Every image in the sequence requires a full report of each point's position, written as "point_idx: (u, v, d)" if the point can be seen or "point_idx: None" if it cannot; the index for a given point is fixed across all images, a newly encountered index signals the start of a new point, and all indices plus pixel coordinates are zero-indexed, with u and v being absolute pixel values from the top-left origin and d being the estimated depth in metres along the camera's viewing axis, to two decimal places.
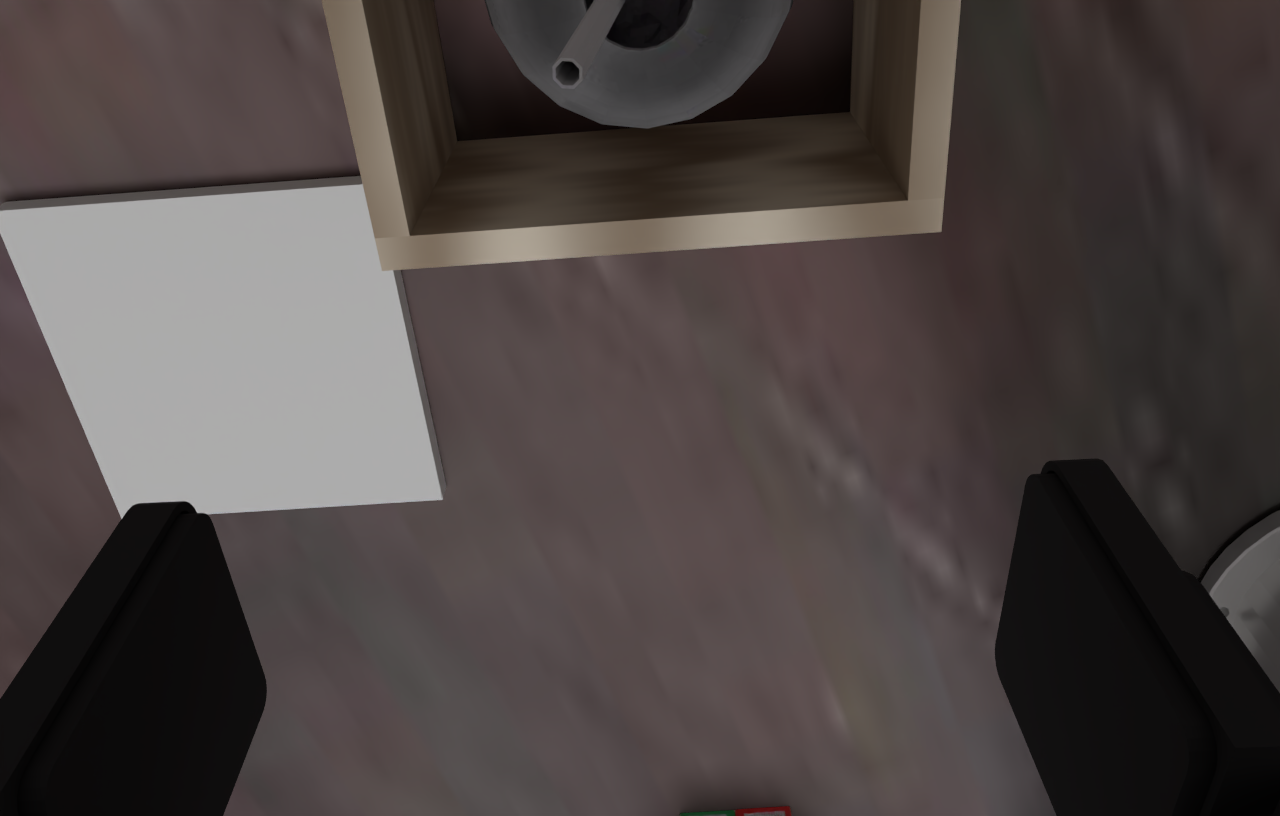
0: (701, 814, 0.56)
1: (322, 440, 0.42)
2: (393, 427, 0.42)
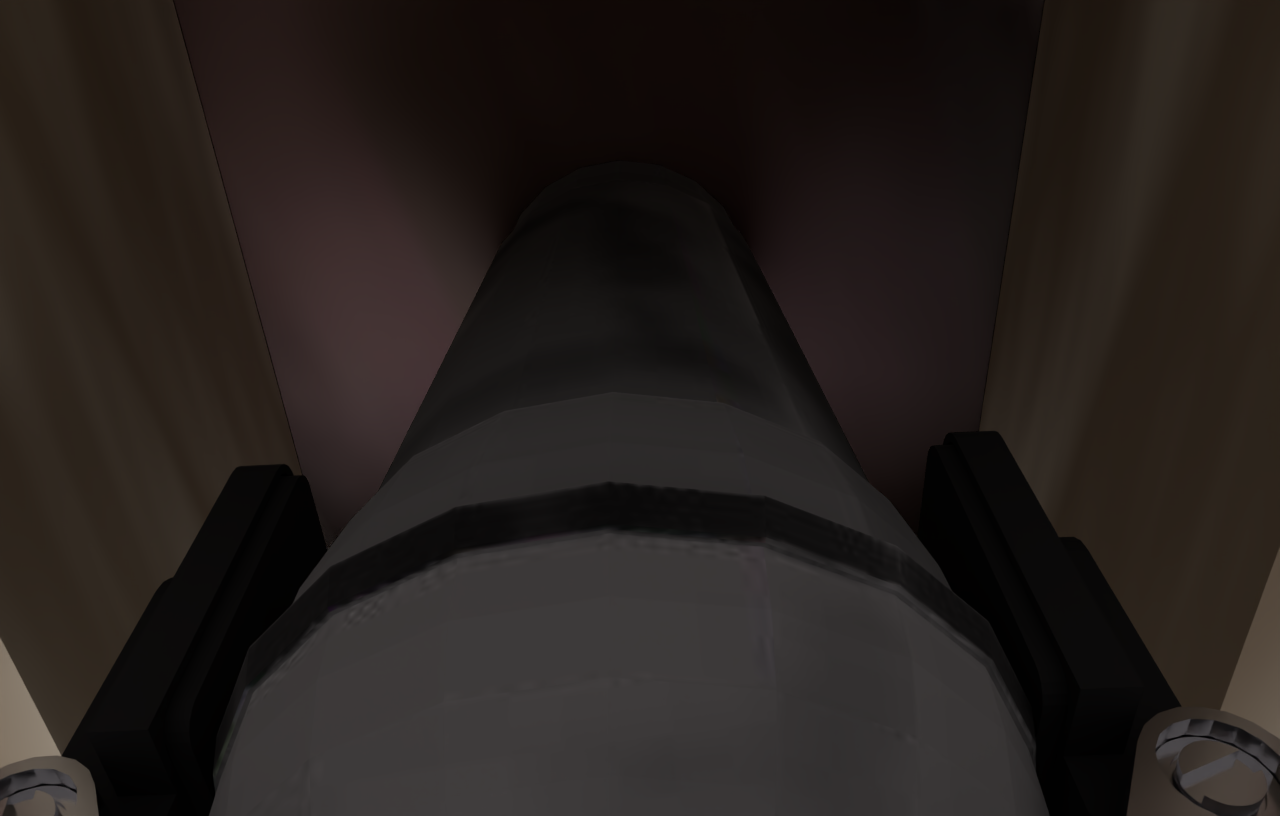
0: None
1: None
2: None
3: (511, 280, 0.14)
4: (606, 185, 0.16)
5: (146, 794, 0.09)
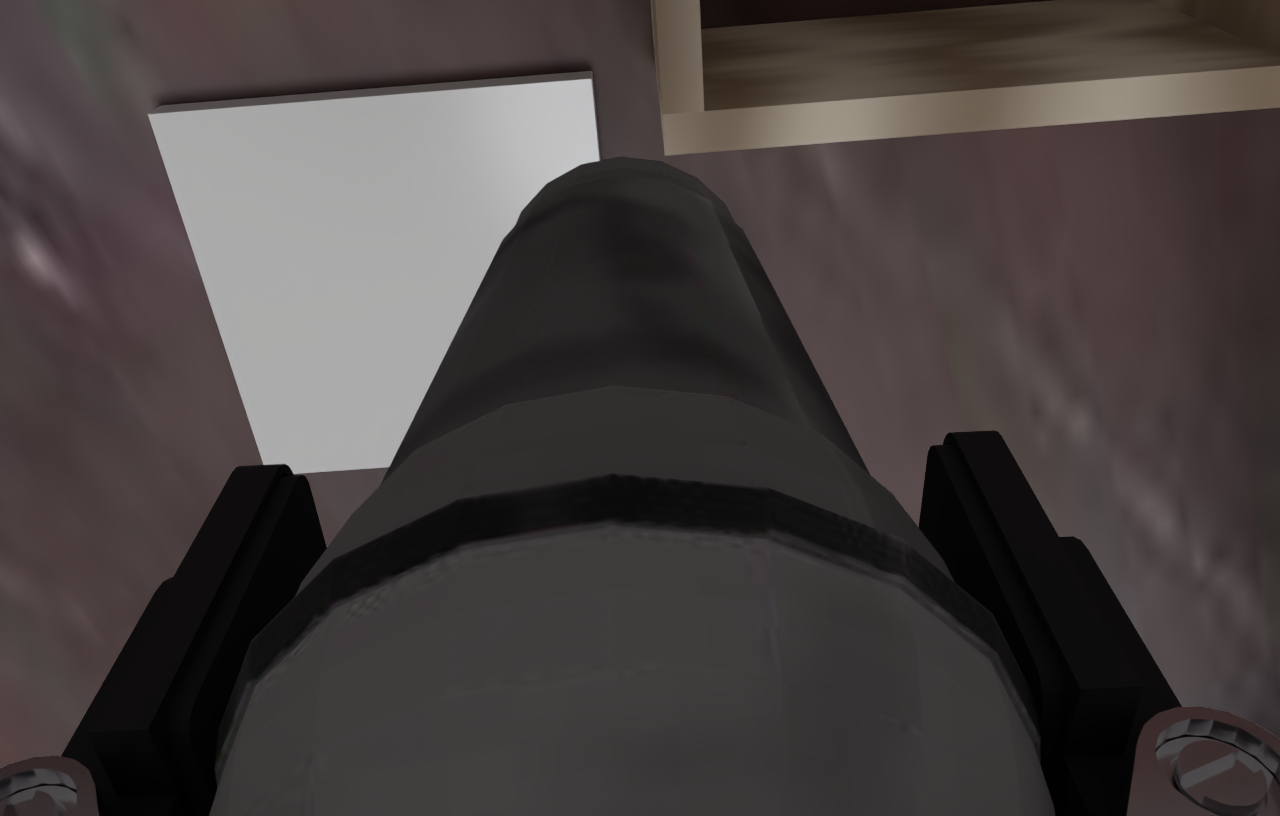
0: None
1: None
2: None
3: (512, 275, 0.13)
4: (607, 181, 0.16)
5: (146, 794, 0.09)
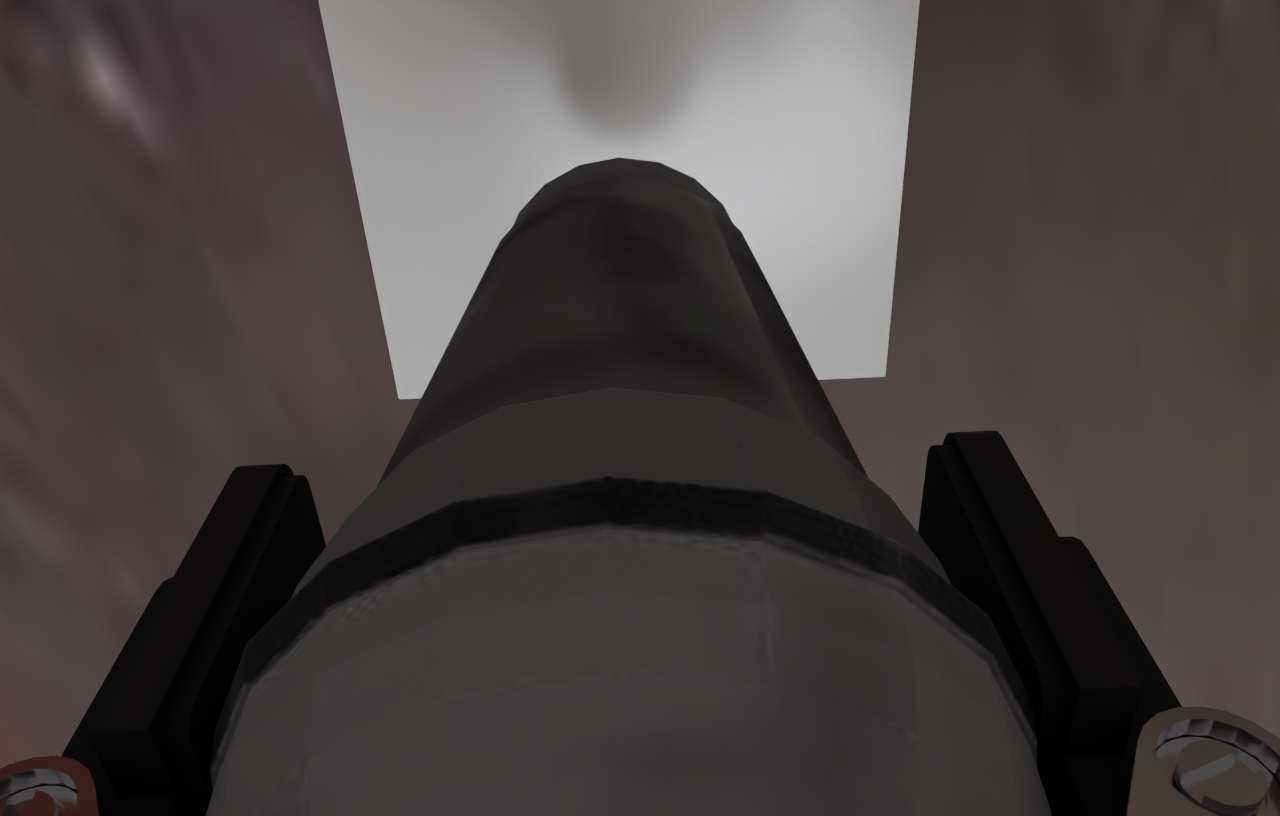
0: None
1: None
2: (845, 257, 0.27)
3: (510, 276, 0.13)
4: (605, 182, 0.16)
5: (145, 794, 0.09)
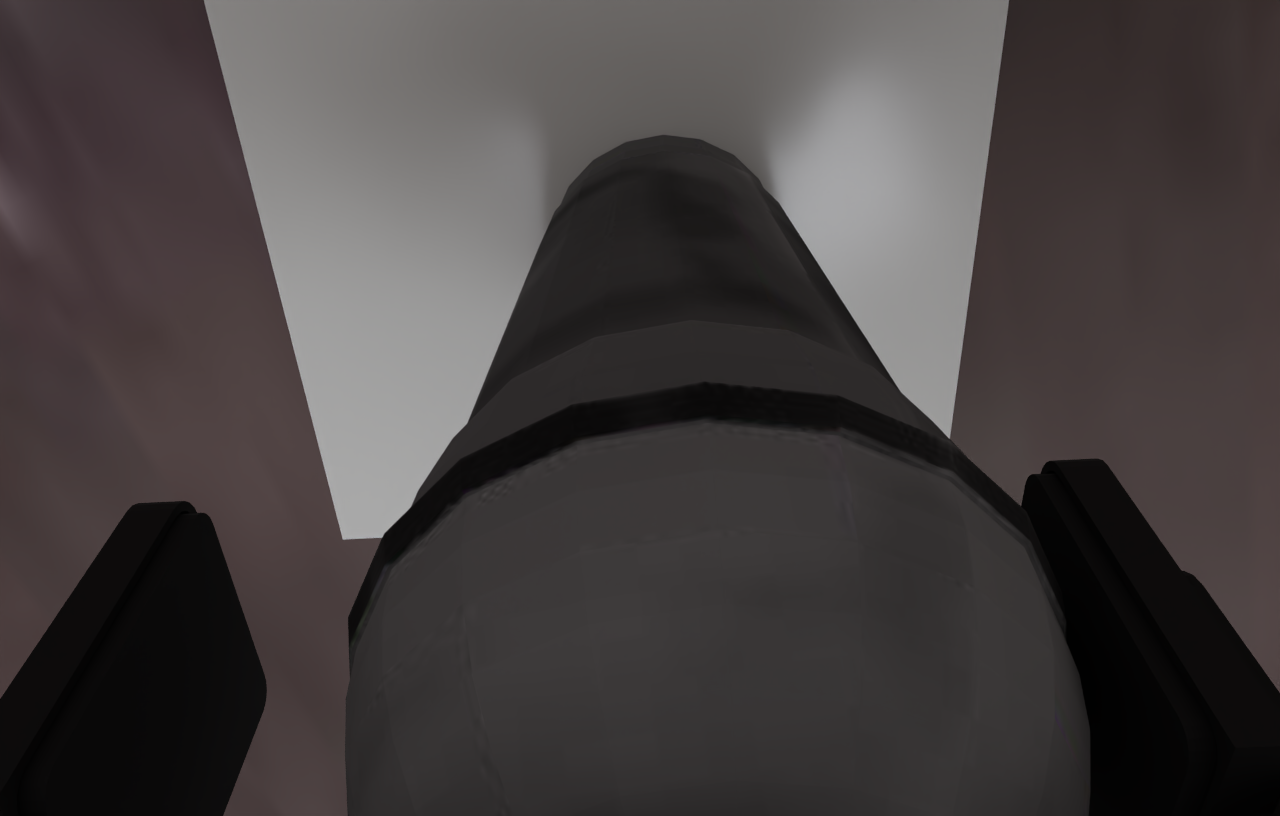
0: None
1: None
2: (895, 374, 0.22)
3: (575, 238, 0.15)
4: (654, 155, 0.17)
5: None
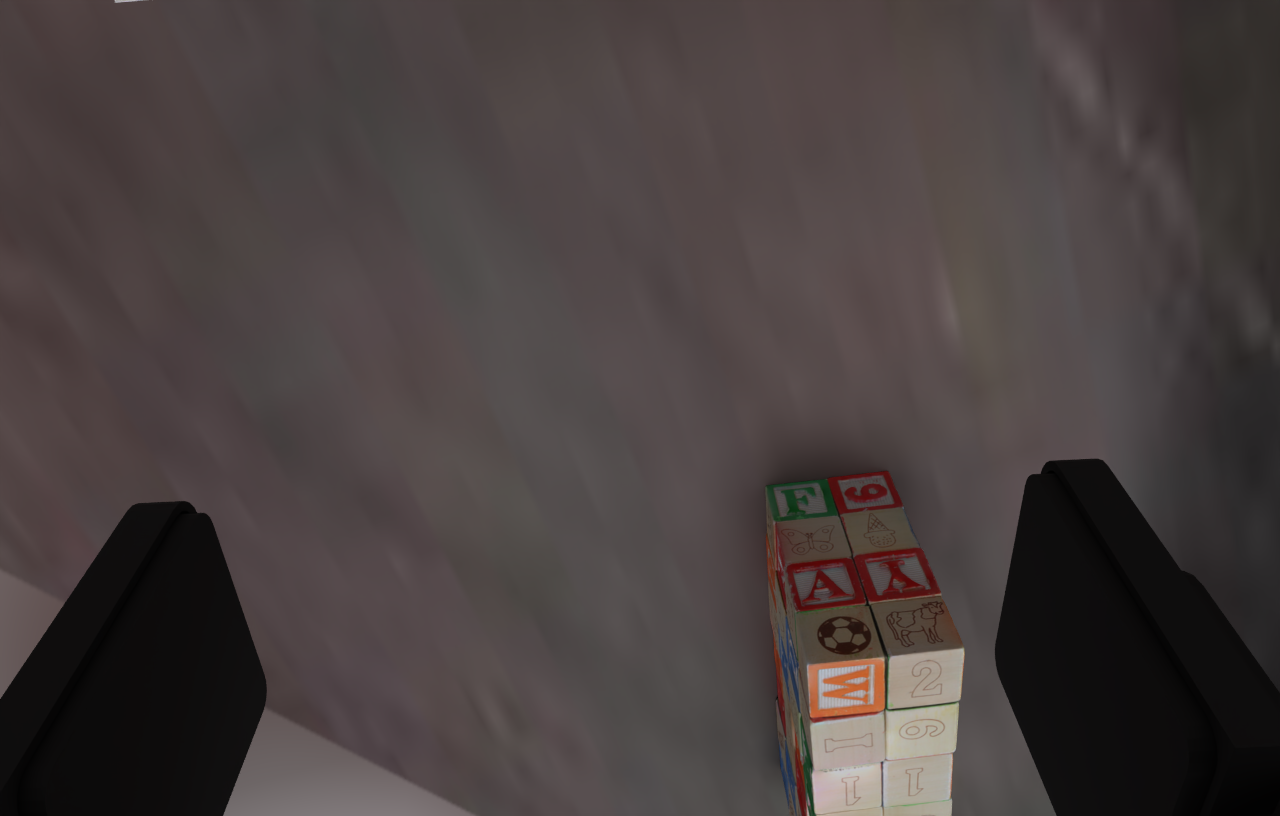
0: (790, 484, 0.50)
1: None
2: None
3: None
4: None
5: None
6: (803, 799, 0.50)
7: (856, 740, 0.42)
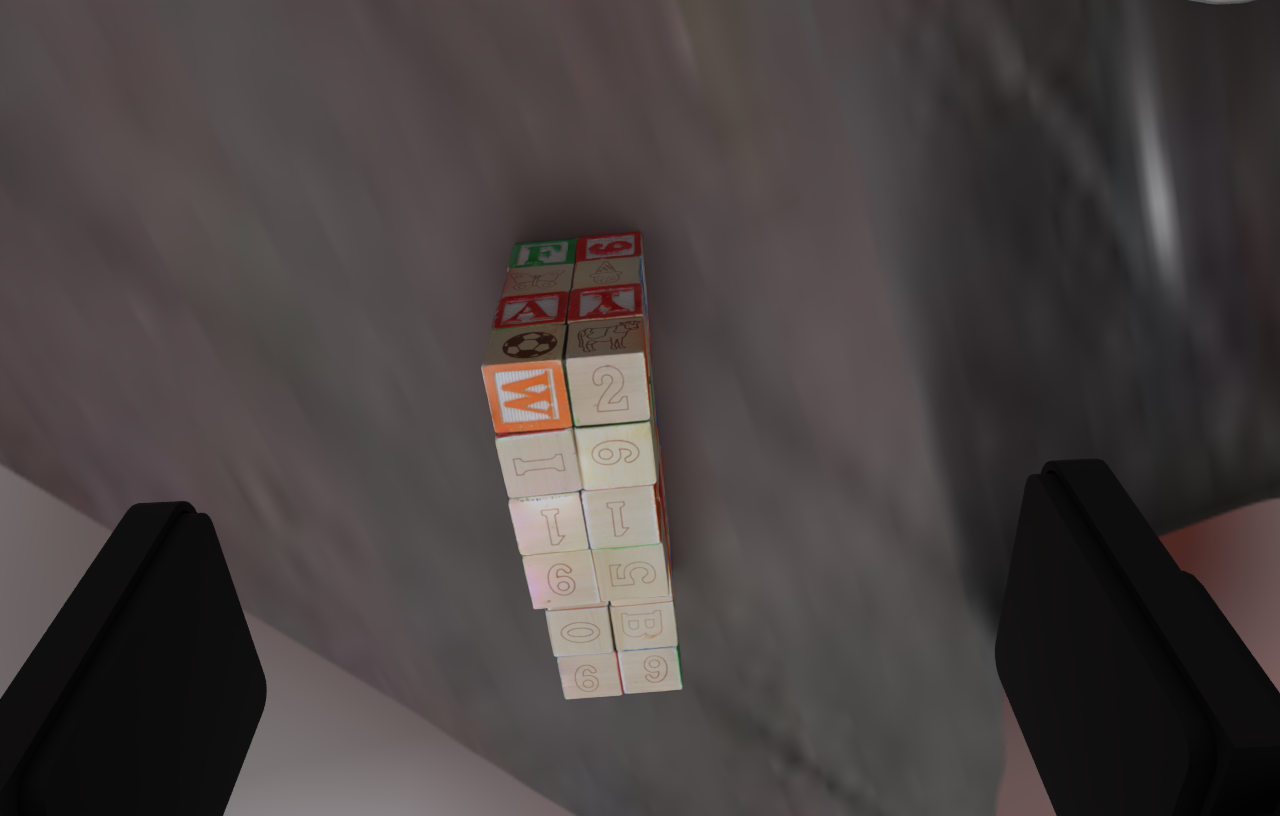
0: (538, 243, 0.48)
1: None
2: None
3: None
4: None
5: None
6: None
7: (546, 462, 0.40)
